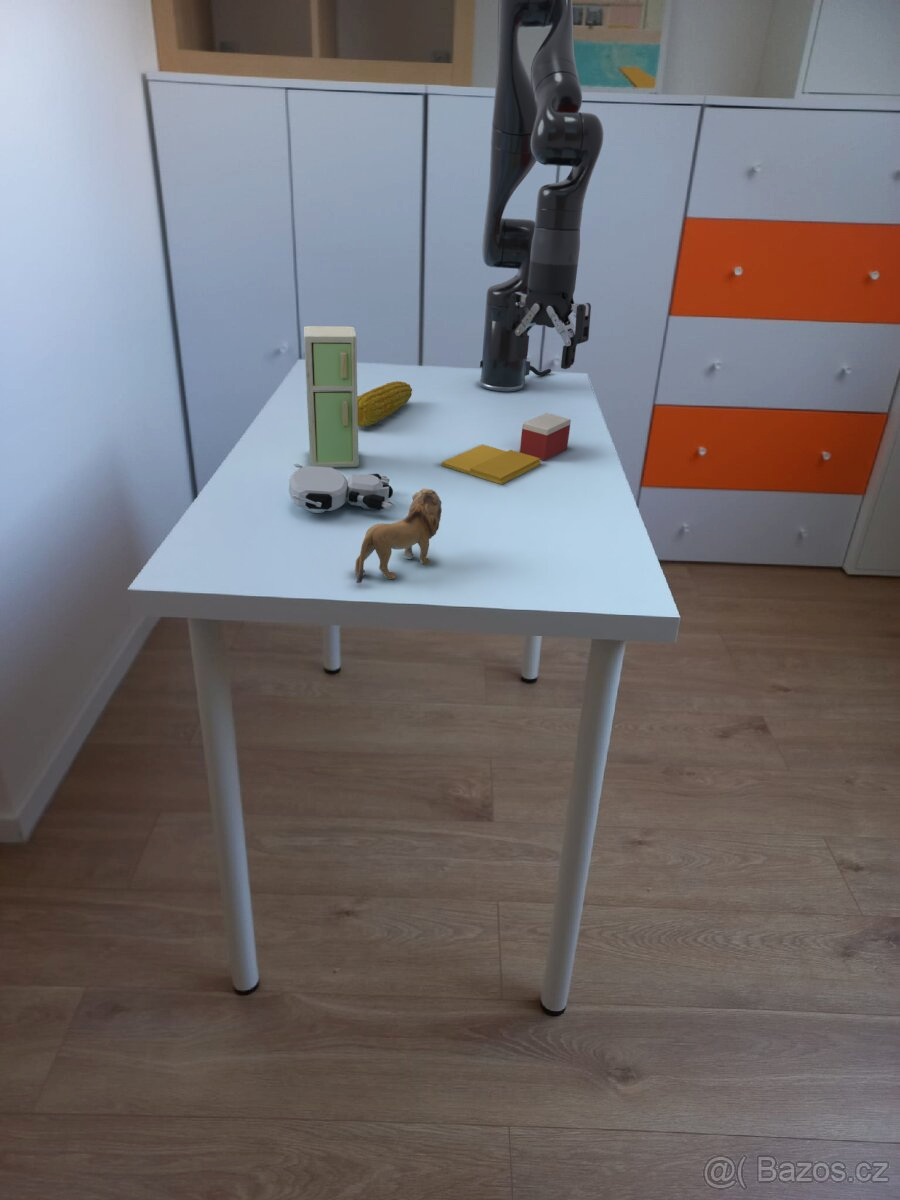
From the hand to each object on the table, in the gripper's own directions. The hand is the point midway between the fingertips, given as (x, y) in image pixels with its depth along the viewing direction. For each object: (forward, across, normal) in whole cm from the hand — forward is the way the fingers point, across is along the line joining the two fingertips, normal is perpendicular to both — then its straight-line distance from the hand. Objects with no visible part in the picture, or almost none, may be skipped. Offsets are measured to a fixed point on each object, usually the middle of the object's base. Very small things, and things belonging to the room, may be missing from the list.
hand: (543, 363), depth 138 cm
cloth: (+15, +2, +11) cm, 19 cm away
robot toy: (+16, +8, +40) cm, 44 cm away
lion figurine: (+16, -10, +49) cm, 52 cm away
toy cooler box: (+15, -1, -1) cm, 15 cm away
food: (+15, +32, +4) cm, 36 cm away
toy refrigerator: (+16, +21, +28) cm, 39 cm away
